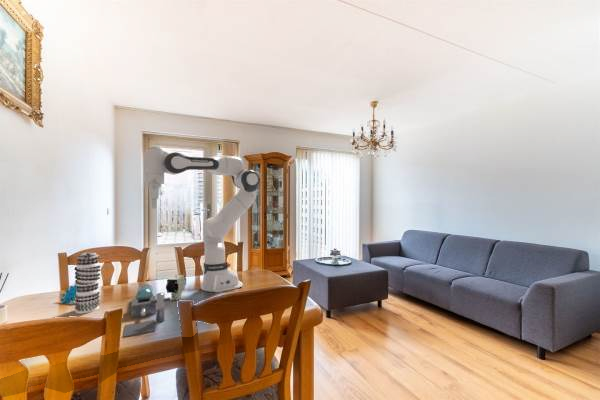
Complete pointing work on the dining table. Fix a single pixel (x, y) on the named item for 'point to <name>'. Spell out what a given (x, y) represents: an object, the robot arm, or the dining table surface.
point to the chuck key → (160, 306)
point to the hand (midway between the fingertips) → (154, 208)
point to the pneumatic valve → (176, 286)
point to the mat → (139, 328)
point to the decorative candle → (87, 282)
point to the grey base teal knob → (143, 302)
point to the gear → (69, 295)
